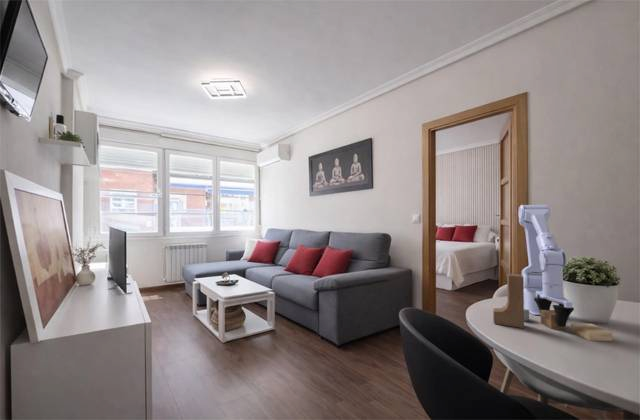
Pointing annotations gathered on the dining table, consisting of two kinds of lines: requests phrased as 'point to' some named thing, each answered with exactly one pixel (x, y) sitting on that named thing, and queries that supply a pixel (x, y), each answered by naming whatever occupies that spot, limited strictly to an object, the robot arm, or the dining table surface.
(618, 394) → the dining table surface
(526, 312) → the grey cube
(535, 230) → the robot arm
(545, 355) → the dining table surface
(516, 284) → the wooden block
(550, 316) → the walnut cube
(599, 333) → the oak block
